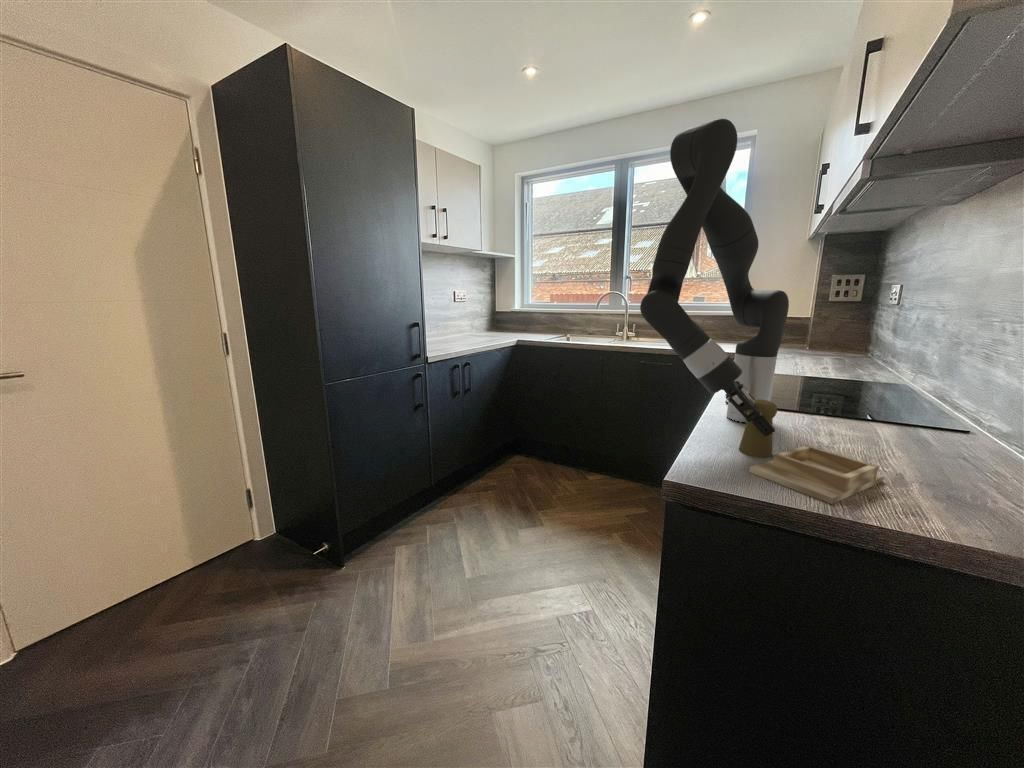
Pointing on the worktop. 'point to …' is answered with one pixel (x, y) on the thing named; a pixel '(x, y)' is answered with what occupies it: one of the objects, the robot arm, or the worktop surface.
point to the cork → (758, 432)
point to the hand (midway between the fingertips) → (768, 428)
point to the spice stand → (819, 473)
